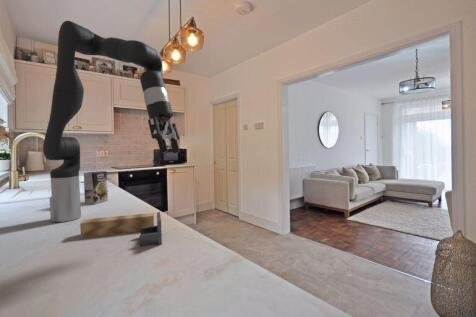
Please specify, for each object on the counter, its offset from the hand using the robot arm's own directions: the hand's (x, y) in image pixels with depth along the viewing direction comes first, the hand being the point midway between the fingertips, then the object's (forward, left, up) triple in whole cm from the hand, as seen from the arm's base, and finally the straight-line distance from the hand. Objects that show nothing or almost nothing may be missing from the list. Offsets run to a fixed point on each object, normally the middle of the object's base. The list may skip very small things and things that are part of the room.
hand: (170, 152), depth 74 cm
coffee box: (-34, +62, -27) cm, 76 cm away
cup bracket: (-7, -2, -27) cm, 28 cm away
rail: (-17, +10, -27) cm, 33 cm away
